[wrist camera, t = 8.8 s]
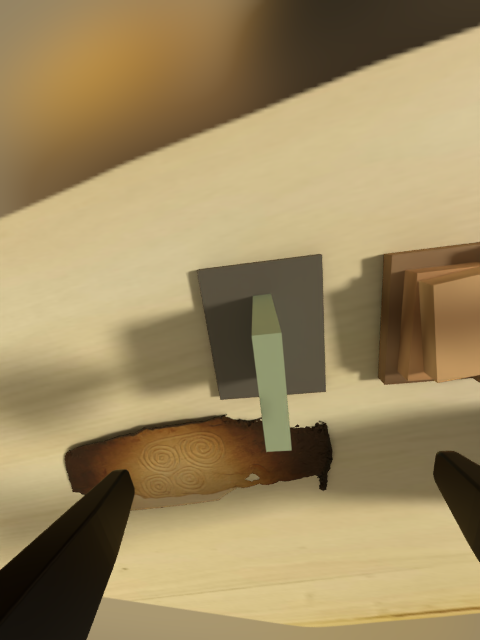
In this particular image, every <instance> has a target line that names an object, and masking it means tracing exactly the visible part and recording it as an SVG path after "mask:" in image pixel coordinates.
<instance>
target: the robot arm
mask: <svg viewBox="0 0 480 640" xmlns="http://www.w3.org/2000/svg"><path fill="white" fill-rule="evenodd" d="M433 475H434V480H435V482H436V484H437V486H438V488H439V490H440V492H441V494H442V496H443V497H444V499H445V501H446V503H447V505H448V507H449V509H450V510H451V512H452V514H453V516H454V518H455V520H456V522H457V524H458V525H459V527H460V529H461V531H462V533H463V535H464V537H465V538H466V540H467V542H468V544H469V546H470V547H471V549H472V551H473V552H474V554H475V556H476V557H477V559H478V560H479V562H480V466H479V465H478V464H476V463H474V462H473V461H471V460H469V459H468V458H466V457H464V456H462V455H461V454H459V453H457V452H455V451H439V452H438V453H437V454H436V458H435V464H434V471H433ZM134 495H135V488H134V485H133V482H132V479H131V476H130V474H129V471H128V470H127V469H118V470H113V471H112V472H111V473H109V474H108V475H107V476H106V477H105V478H104V479H103V480H101V481H100V482H99V483H98V484H97V485H96V486H95V487H94V488H92V489H91V490H90V491H89V492H88V493H87V494H86V495H85V496H83V497H82V498H81V499H80V500H79V501H78V502H77V503H75V504H74V505H73V506H72V507H71V508H70V509H69V510H68V511H66V512H65V513H64V514H63V515H62V516H61V517H60V518H59V519H57V520H56V521H55V522H54V523H53V524H52V525H51V526H49V527H48V528H47V529H46V530H45V531H44V532H43V533H42V534H40V535H39V536H38V537H37V538H36V539H35V540H34V541H33V542H31V543H30V544H29V545H28V546H27V547H26V548H25V549H23V550H22V551H21V552H20V553H19V554H18V555H17V556H16V557H14V558H13V559H12V560H11V561H10V562H9V563H8V564H7V565H5V566H4V567H3V568H2V569H1V570H0V640H86V639H87V637H88V634H89V631H90V629H91V626H92V623H93V621H94V618H95V615H96V612H97V610H98V607H99V604H100V602H101V599H102V596H103V594H104V591H105V588H106V586H107V583H108V580H109V578H110V575H111V572H112V570H113V567H114V564H115V561H116V558H117V555H118V552H119V549H120V545H121V542H122V538H123V535H124V531H125V528H126V524H127V521H128V517H129V513H130V510H131V506H132V503H133V499H134Z"/></svg>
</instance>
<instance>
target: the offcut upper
mask: <svg viewBox="0 0 480 640" xmlns="http://www.w3.org/2000/svg"><path fill="white" fill-rule="evenodd" d="M419 297H420V314H421V331H422V348H423V365H424V372H425V373H426V374H427V375H428V376H429V377H431V378H432V379H433V380H434V381H436V382H437V383H439V382H445V381H450V380H455V379H461V378H466V377H471V376H477V375H480V267H476V268H471V269H467V270H463V271H459V272H455V273H451V274H447V275H442V276H438V277H434V278H430V279H426V280H422V281H419Z"/></svg>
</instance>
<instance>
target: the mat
mask: <svg viewBox="0 0 480 640" xmlns="http://www.w3.org/2000/svg"><path fill="white" fill-rule="evenodd" d="M197 273H198V279H199V284H200V290H201V296H202V301H203V307H204V312H205V318H206V323H207V329H208V334H209V340H210V345H211V351H212V356H213V362H214V367H215V373H216V378H217V384H218V389H219V395H220V400H224V399H237V398H250V397H259V390H258V382H257V375H256V367H255V359H254V351H253V343H252V307H253V296H257V295H265V294H271V296H272V300H273V303H274V307H275V311H276V314H277V318H278V322H279V325H280V329H281V333H282V344H283V355H284V367H285V378H286V390H287V395H290V394H303V393H316V392H326V382H325V345H324V307H323V270H322V255H321V254H316V255H308V256H301V257H293V258H285V259H277V260H269V261H261V262H253V263H245V264H237V265H229V266H222V267H214V268H206V269H199V270H197Z"/></svg>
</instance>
